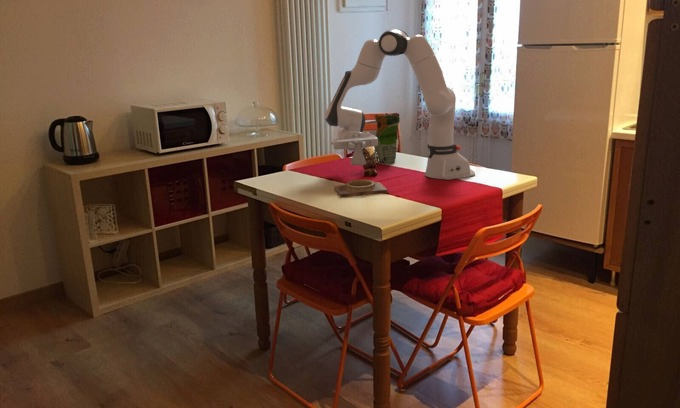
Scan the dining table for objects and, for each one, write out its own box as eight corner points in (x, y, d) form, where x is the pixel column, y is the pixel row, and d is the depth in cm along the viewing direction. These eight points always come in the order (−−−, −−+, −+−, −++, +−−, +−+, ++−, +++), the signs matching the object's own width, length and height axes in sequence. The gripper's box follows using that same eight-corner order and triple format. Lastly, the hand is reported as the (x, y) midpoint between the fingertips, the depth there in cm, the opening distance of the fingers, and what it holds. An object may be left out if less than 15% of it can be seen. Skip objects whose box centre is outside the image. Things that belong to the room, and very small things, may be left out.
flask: (365, 166, 251) (365, 143, 248) (349, 166, 252) (348, 143, 249) (367, 162, 258) (367, 140, 255) (351, 162, 259) (350, 140, 256)
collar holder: (379, 185, 252) (379, 177, 251) (387, 193, 240) (387, 184, 239) (334, 189, 249) (333, 181, 248) (340, 197, 236) (339, 189, 235)
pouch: (401, 159, 298) (400, 111, 291) (394, 165, 288) (393, 114, 281) (380, 159, 302) (379, 110, 295) (373, 164, 292) (372, 114, 285)
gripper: (329, 135, 262) (335, 140, 249) (373, 131, 266) (381, 137, 253) (329, 149, 264) (335, 155, 251) (373, 145, 268) (381, 151, 255)
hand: (358, 146), depth 252 cm, fingers closed on flask, 3 cm apart
